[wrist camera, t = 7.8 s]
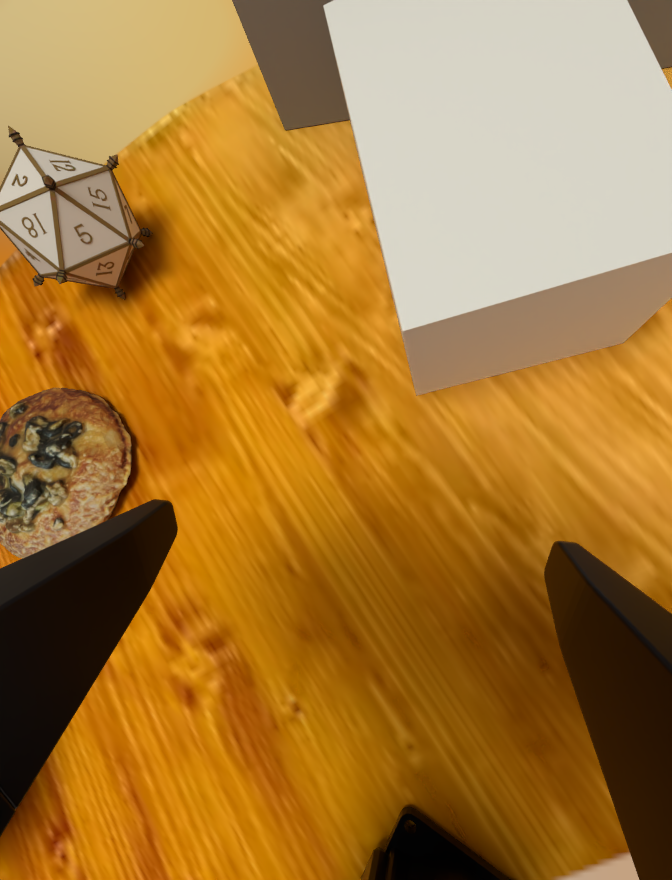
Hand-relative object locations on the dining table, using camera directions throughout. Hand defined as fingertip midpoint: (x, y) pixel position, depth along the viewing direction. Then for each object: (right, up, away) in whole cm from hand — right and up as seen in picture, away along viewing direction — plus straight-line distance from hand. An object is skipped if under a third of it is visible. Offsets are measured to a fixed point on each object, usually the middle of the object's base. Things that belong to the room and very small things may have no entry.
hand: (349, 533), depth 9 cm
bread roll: (-18, 0, +17) cm, 25 cm away
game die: (-16, +15, +19) cm, 29 cm away
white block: (+7, +13, +13) cm, 20 cm away
